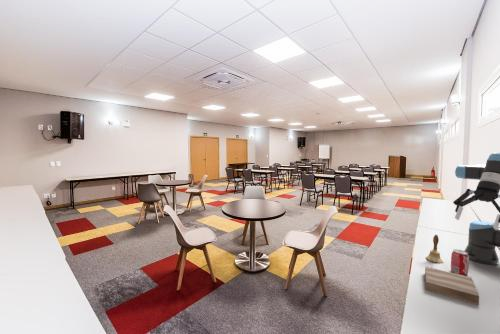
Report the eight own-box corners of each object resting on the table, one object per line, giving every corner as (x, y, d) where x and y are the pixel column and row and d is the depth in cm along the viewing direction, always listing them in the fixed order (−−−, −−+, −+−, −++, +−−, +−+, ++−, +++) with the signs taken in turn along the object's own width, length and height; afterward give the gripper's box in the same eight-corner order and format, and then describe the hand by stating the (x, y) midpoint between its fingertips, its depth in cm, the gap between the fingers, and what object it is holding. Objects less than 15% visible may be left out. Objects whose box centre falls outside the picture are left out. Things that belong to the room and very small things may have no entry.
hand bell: (443, 259, 138) (444, 234, 137) (443, 264, 131) (444, 238, 130) (425, 255, 143) (427, 231, 142) (425, 260, 137) (426, 235, 136)
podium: (425, 273, 122) (425, 266, 122) (470, 285, 111) (471, 277, 111) (426, 289, 108) (426, 281, 107) (478, 304, 97) (479, 296, 96)
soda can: (467, 272, 123) (469, 251, 122) (468, 278, 117) (469, 255, 117) (450, 268, 127) (451, 247, 127) (450, 273, 122) (451, 251, 121)
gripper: (454, 176, 117) (440, 212, 115) (527, 184, 95) (511, 230, 93) (460, 182, 121) (446, 217, 119) (532, 191, 98) (516, 236, 96)
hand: (474, 223), depth 106 cm, fingers open, 13 cm apart
